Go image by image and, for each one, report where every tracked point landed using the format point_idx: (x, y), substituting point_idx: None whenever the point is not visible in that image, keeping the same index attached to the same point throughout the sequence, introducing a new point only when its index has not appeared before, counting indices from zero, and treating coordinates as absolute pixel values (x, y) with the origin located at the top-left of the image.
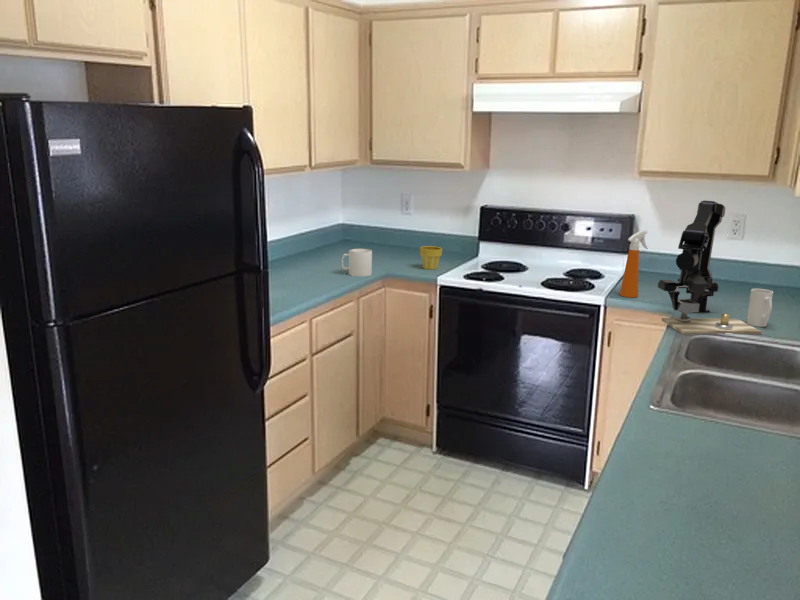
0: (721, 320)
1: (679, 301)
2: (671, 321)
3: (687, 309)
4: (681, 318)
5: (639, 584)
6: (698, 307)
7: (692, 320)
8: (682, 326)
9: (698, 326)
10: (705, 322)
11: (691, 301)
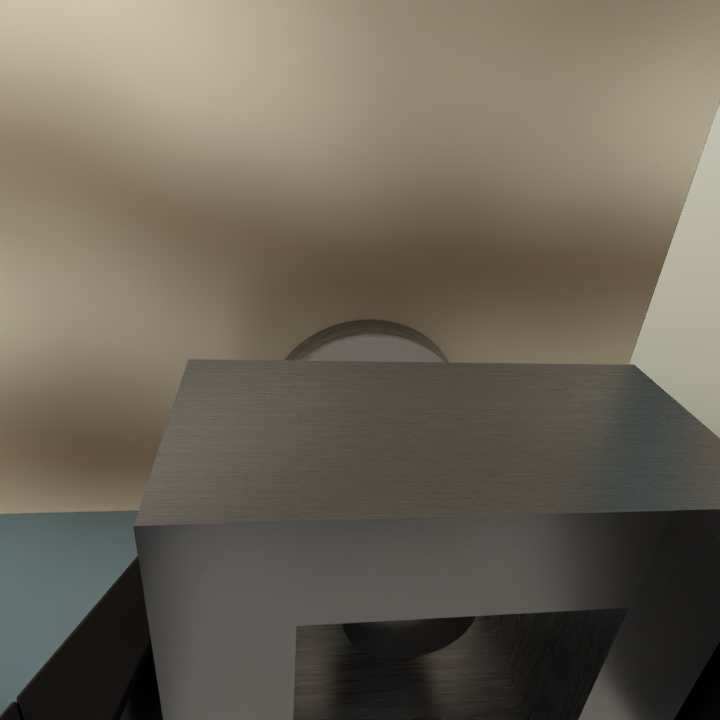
0: None
1: (659, 671)
2: (573, 360)
3: (498, 394)
4: None
5: None
6: (188, 428)
7: None
8: (600, 74)
9: (290, 52)
10: (32, 314)
11: (292, 712)
